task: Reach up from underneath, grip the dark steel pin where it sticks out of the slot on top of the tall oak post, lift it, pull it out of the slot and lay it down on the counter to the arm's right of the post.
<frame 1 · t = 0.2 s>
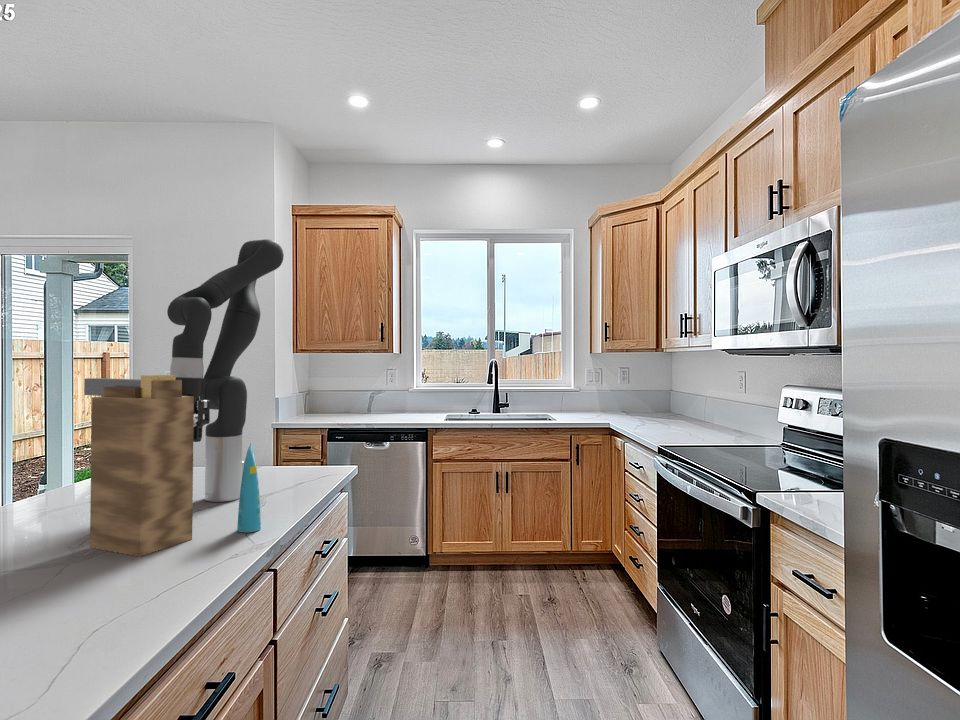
hand: (183, 440, 145), 17 cm above the worktop, tool pointing down, fingers open, 8 cm apart
post: (142, 543, 119), on the worktop
pin: (121, 395, 121), point 30 cm above the worktop, touching post
tube: (249, 530, 129), on the worktop
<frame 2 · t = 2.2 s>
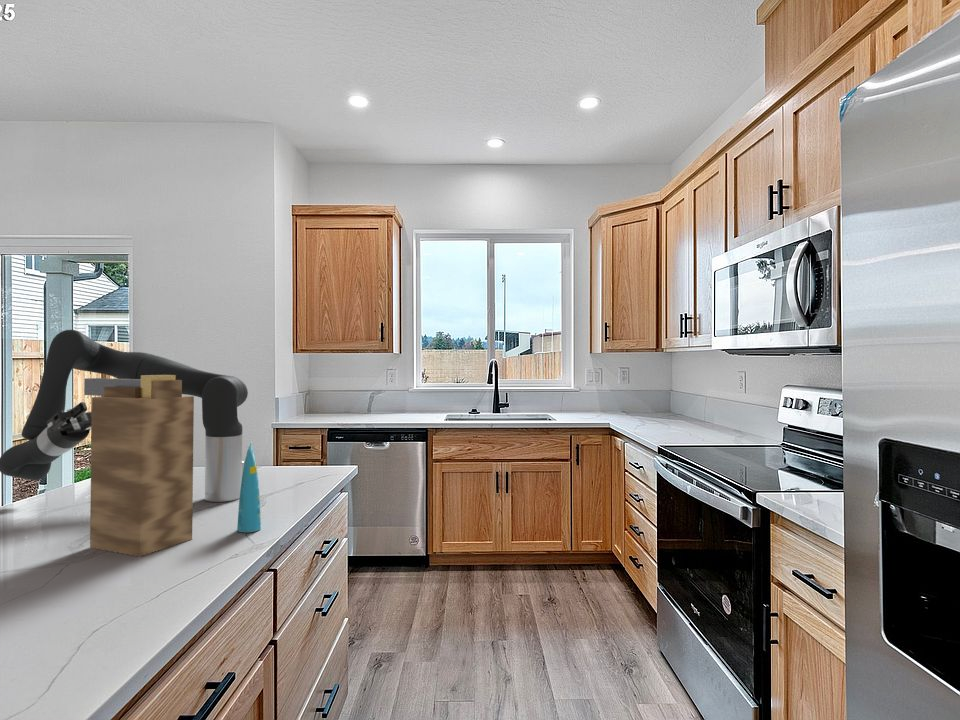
hand: (103, 404, 137), 27 cm above the worktop, tool pointing upward, fingers open, 8 cm apart
nothing on the worktop moved.
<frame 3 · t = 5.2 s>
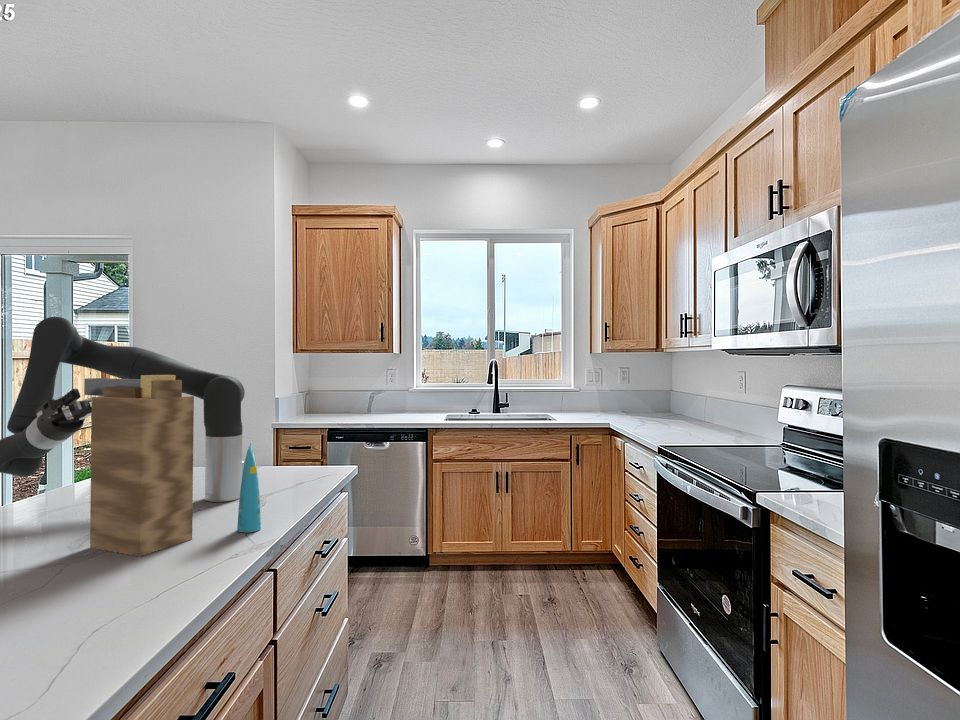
hand: (98, 391, 124), 31 cm above the worktop, tool pointing upward, fingers open, 8 cm apart
nothing on the worktop moved.
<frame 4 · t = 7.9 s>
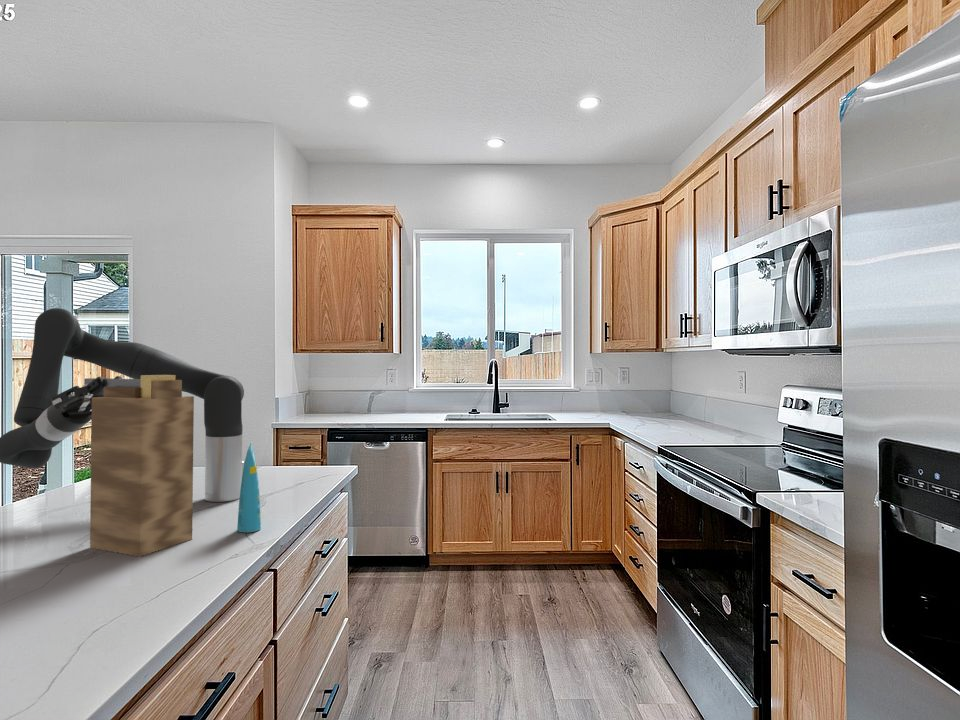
hand: (111, 380, 122), 33 cm above the worktop, tool pointing upward, fingers closed on pin, 3 cm apart
pin: (121, 395, 121), point 30 cm above the worktop, touching gripper, post
everything else where it was.
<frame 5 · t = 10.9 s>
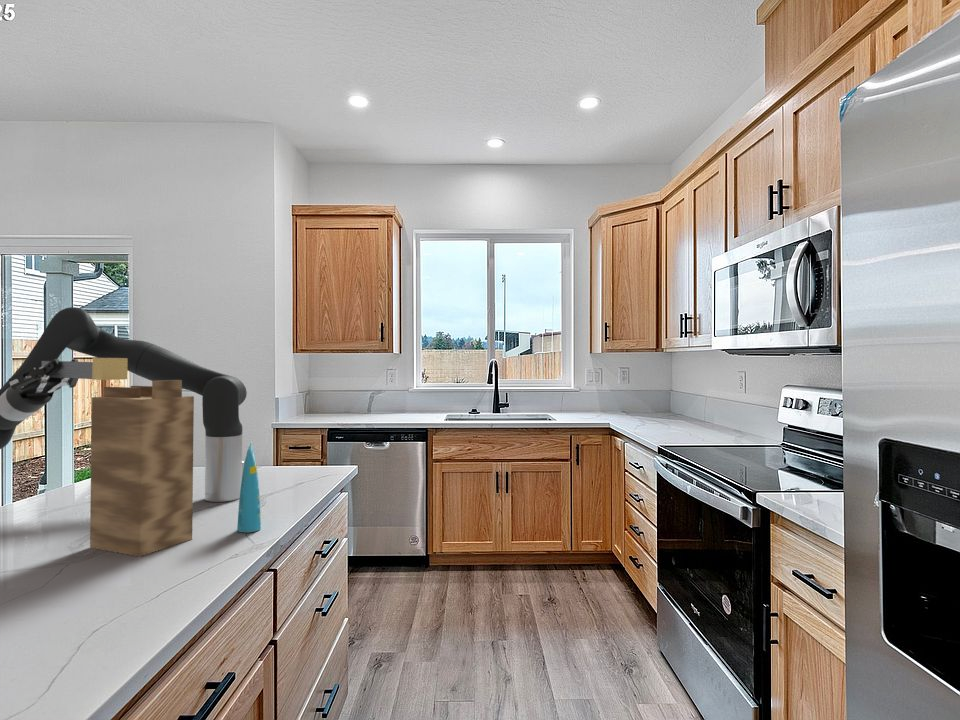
hand: (67, 362, 127), 37 cm above the worktop, tool pointing upward, fingers closed on pin, 3 cm apart
pin: (76, 377, 126), point 34 cm above the worktop, touching gripper
everything else where it was.
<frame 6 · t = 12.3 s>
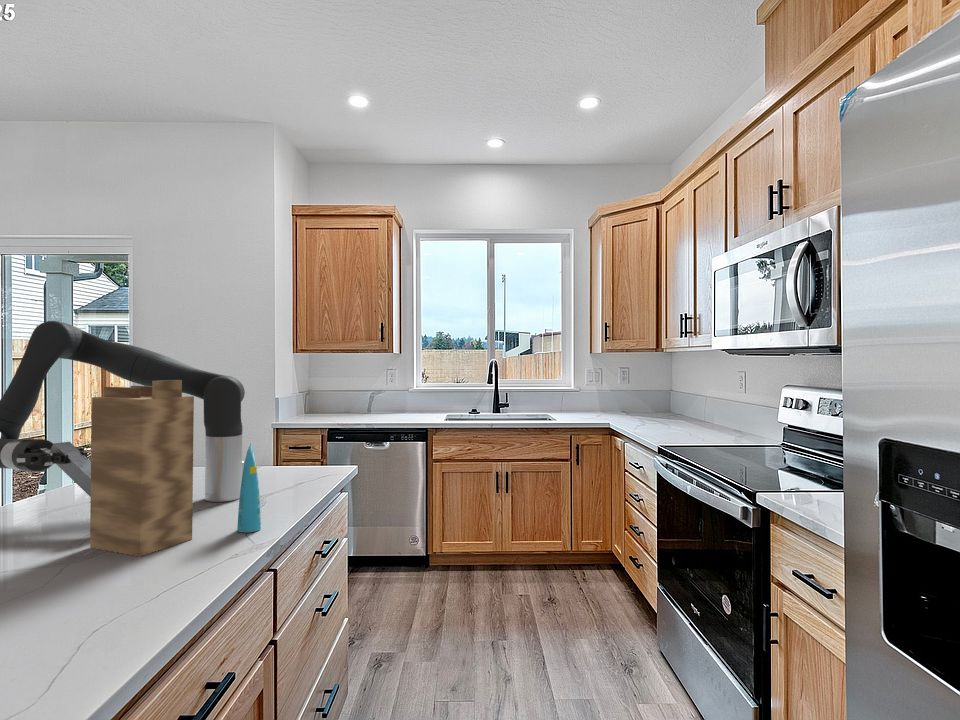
hand: (76, 457, 130), 16 cm above the worktop, tool horizontal, fingers closed on pin, 3 cm apart
pin: (79, 477, 129), point 11 cm above the worktop, tilted 28°, touching gripper
everything else where it was.
when the fingers open (8 cm above the worktop, at t = 14.2 s): pin drops 4 cm, on the worktop.
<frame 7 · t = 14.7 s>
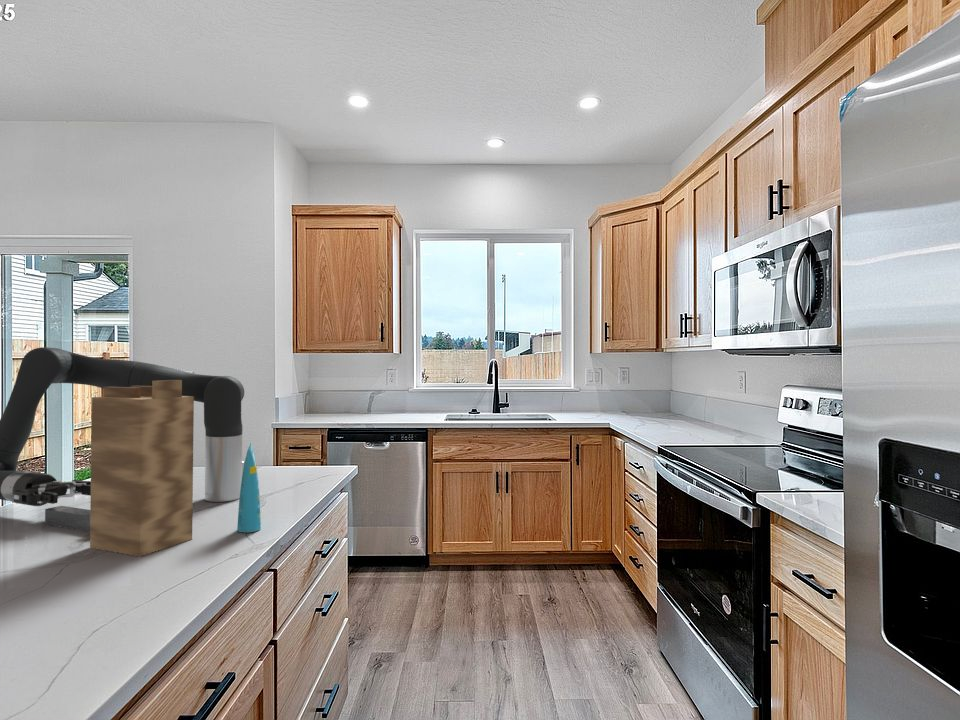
hand: (75, 494, 131), 7 cm above the worktop, tool horizontal, fingers open, 8 cm apart
pin: (79, 526, 130), on the worktop
everything else where it was.
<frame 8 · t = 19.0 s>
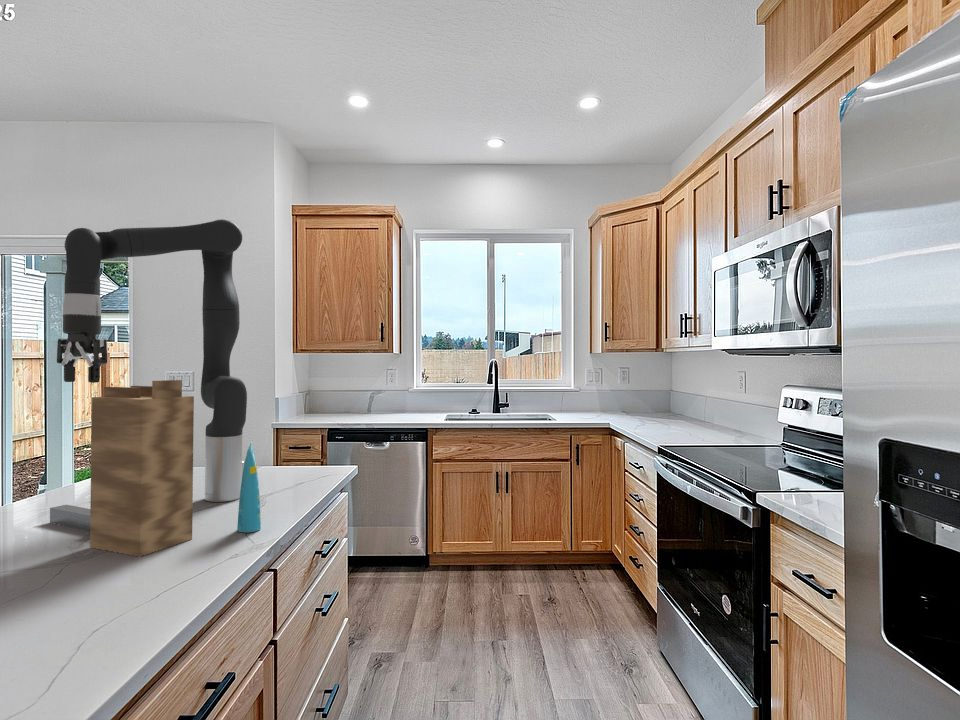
hand: (81, 382, 138), 32 cm above the worktop, tool pointing down, fingers open, 8 cm apart
at the end: pin inside the target area (1.7 cm from its centre), on the worktop; pin touching worktop; the gripper is holding nothing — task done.
